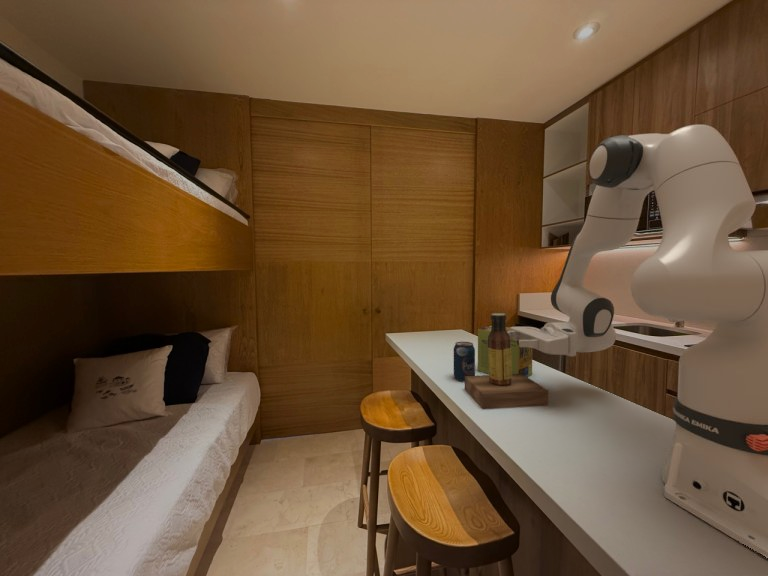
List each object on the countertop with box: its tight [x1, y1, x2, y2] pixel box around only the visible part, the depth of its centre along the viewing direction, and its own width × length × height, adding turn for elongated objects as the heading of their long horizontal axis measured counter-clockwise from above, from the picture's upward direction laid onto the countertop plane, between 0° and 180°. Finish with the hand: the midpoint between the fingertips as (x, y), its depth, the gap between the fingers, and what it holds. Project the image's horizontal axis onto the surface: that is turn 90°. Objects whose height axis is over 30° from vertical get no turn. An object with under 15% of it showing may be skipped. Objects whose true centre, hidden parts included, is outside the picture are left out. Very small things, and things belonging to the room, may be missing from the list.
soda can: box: [453, 341, 476, 383], centre depth 107 cm, size 7×7×12 cm
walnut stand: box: [464, 374, 549, 410], centre depth 92 cm, size 14×18×4 cm
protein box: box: [477, 325, 533, 378], centre depth 112 cm, size 10×15×16 cm
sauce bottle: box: [488, 312, 512, 385], centre depth 91 cm, size 6×6×20 cm
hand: (509, 339), depth 91 cm, fingers open, 8 cm apart
